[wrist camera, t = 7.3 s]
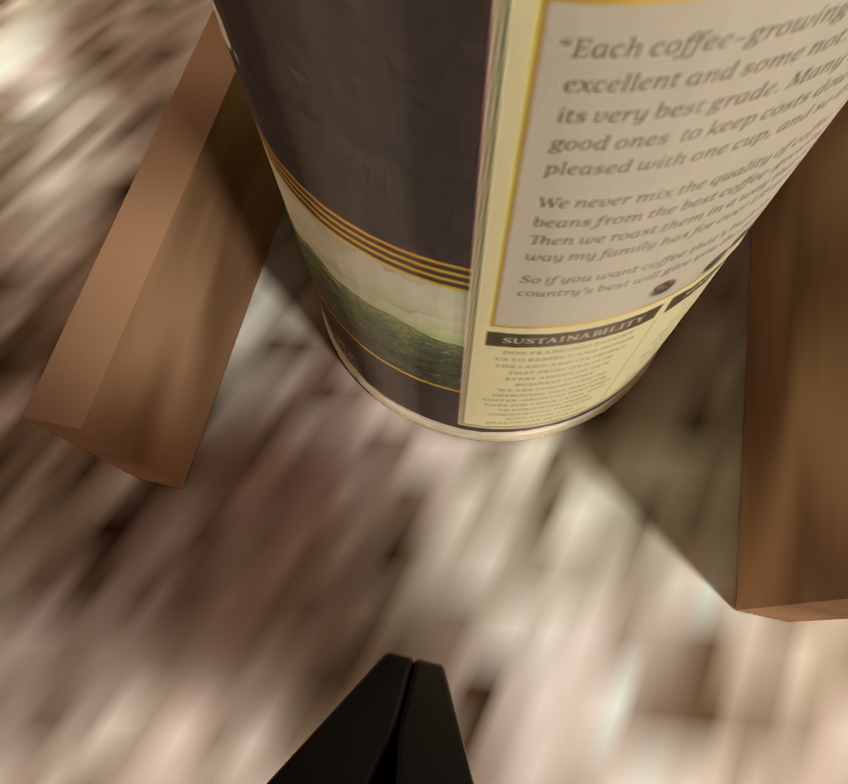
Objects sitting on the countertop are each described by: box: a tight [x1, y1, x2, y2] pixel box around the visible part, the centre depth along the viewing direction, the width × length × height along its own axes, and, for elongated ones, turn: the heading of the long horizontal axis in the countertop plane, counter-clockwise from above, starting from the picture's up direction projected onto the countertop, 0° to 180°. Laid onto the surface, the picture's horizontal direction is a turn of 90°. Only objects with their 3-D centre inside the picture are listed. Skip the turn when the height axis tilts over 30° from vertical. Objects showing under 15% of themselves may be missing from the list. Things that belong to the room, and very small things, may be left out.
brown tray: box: [22, 10, 848, 622], centre depth 16 cm, size 14×16×5 cm
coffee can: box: [211, 0, 848, 441], centre depth 12 cm, size 10×10×14 cm
